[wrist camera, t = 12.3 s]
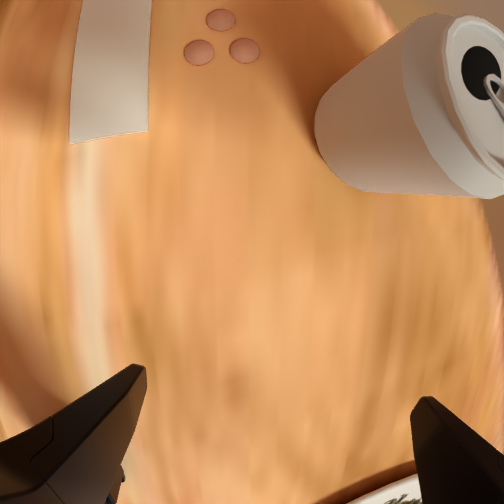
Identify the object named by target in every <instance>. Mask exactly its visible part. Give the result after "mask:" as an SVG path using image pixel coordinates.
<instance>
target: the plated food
mask: <svg viewBox="0 0 504 504" xmlns="http://www.w3.org/2000/svg"><path fill="white" fill-rule="evenodd" d="M347 504H422V498H421V492H420V486H419V480H418V474H414V475H411V476H408V477H406V478H404V479H401V480H398V481H396V482H393V483H391V484H388V485H386V486H384V487H382V488H379V489H377V490H375V491H373V492H370V493H368V494H365V495H363V496H361V497H359V498H357V499H355V500H353V501H351V502H349V503H347Z"/></svg>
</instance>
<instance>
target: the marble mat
mask: <svg viewBox="0 0 504 504" xmlns="http://www.w3.org/2000/svg"><path fill="white" fill-rule="evenodd" d="M151 11H152V0H83V3H82V8H81V14H80V19H79V25H78V31H77V38H76V45H75V53H74V62H73V72H72V84H71V100H70V131H69V144H75V143H80V142H85V141H90V140H96V139H101V138H107V137H113V136H120V135H126V134H133V133H140V132H148V131H149V116H148V79H149V45H150V26H151ZM234 23H235V16H234V15H233V13H232V12H230V11H228V10H225V9H217V10H214V11H212V12H211V13H210V14H209V15H208V16H207V24H208V26H209V27H210V28H211V29H213V30H216V31H225V30H228V29H230V28H231V27H232V26H233V25H234ZM230 53H231V56H232V57H233V58H234V59H235V60H236V61H238V62H241V63H250V62H253V61H255V60H256V59H257V58H258V56H259V54H260V49H259V46H258V45H257V43H256V42H254V41H253V40H250V39H239V40H237V41H235V42H234V43H233V44H232V46H231V49H230ZM213 55H214V49H213V47H212V45H211V44H210V43H208V42H206V41H203V40H197V41H194V42H191V43H190V44H189V45H188V46H187V47H186V48H185V51H184V56H185V59H186V60H187V61H188V62H189V63H191V64H193V65H203V64H206V63H208V62H209V61H210V60H211V59H212V57H213Z"/></svg>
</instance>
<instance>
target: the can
mask: <svg viewBox="0 0 504 504" xmlns="http://www.w3.org/2000/svg"><path fill="white" fill-rule="evenodd" d="M314 134H315V138H316V141H317V145H318V148H319V152H320V154H321V156H322V157H323V159H324V161H325V162H326V164H327V165H328V167H329V169H330V170H331V171H332V172H333V173H334V174H335V175H336V176H337V177H339V178H340V179H341V180H342V181H343V182H344V183H345V184H348V185H350V186H352V187H354V188H356V189H358V190H360V191H367V192H377V193H403V194H425V195H443V196H458V197H472V198H484V199H492V198H495V197H497V196H500V195H503V194H504V34H503V33H502V32H501V31H500V30H499V29H498V28H496V27H495V26H494V25H492V24H491V23H489V22H487V21H486V20H484V19H483V18H481V17H477V16H473V15H469V14H463V15H459V16H456V17H454V16H449V15H443V14H438V13H434V14H430V15H427V16H424V17H420V18H418V19H417V20H415V21H414V22H412V23H411V24H410V25H408V26H407V27H406V28H404V29H403V30H401V31H400V32H399V33H397V34H396V35H395V36H393V37H392V38H391V39H389V40H388V41H387V42H385V43H384V44H383V45H382V46H380V47H379V48H378V49H376V50H375V51H374V52H373V53H371V54H370V55H369V56H367V57H366V58H365V59H364V60H362V61H361V62H360V63H359V64H357V65H356V66H355V67H354V68H352V69H351V70H350V71H349V72H348V73H346V74H345V75H344V76H343V77H341V78H340V79H339V80H338V81H337V82H335V83H334V84H333V85H332V86H331V87H330V88H329V89H328V90H327V91H326V93H325V94H324V95H323V96H322V97H321V99H320V101H319V104H318V107H317V110H316V112H315V126H314Z"/></svg>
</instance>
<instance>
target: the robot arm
mask: <svg viewBox="0 0 504 504" xmlns="http://www.w3.org/2000/svg"><path fill="white" fill-rule="evenodd" d="M146 390H147V377H146V368H145V367H144V366H142V365H138V364H131V365H129V366H128V367H126V368H125V369H123V370H122V371H120V372H118V373H117V374H115V375H114V376H112V377H111V378H109V379H108V380H106V381H105V382H103V383H102V384H100V385H99V386H97V387H96V388H94V389H92V390H91V391H89V392H88V393H86V394H85V395H83V396H82V397H80V398H78V399H77V400H75V401H74V402H72V403H71V404H69V405H68V406H66V407H64V408H63V409H61V410H60V411H58V412H56V413H55V414H53V415H52V416H50V417H48V418H47V419H45V420H44V421H42V422H40V423H39V424H37V425H35V426H33V427H32V428H30V429H28V430H26V431H24V432H22V433H20V434H18V435H16V436H14V437H11V438H9V439H7V440H5V441H2V442H0V504H116V503H117V498H118V494H119V489H120V485H121V482H124V481H125V475H124V471H123V469H122V467H121V465H120V464H121V462H122V460H123V457H124V455H125V453H126V450H127V448H128V446H129V443H130V441H131V439H132V436H133V434H134V431H135V428H136V425H137V421H138V418H139V414H140V411H141V407H142V404H143V401H144V397H145V394H146ZM410 422H411V431H412V441H413V451H414V458H415V464H416V469H417V474H418V480H419V486H420V492H421V498H422V504H504V455H503V454H502V453H500V452H499V451H498V450H496V448H494V447H493V446H492V445H491V444H490V443H488V442H487V441H486V440H485V439H483V438H482V437H481V436H480V435H479V434H477V433H476V432H475V431H474V430H473V429H471V428H470V427H469V426H468V425H467V424H465V423H464V422H463V421H462V420H461V419H459V418H458V417H457V416H456V415H454V414H453V413H452V412H451V411H450V410H448V409H447V408H446V407H445V406H444V405H442V404H441V403H440V402H439V401H437V400H436V399H435V398H434V397H432V396H424V397H421V398H420V399H419V401H418V403H417V404H416V406H415V407H414V409H413V410H412V412H411V415H410Z"/></svg>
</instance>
